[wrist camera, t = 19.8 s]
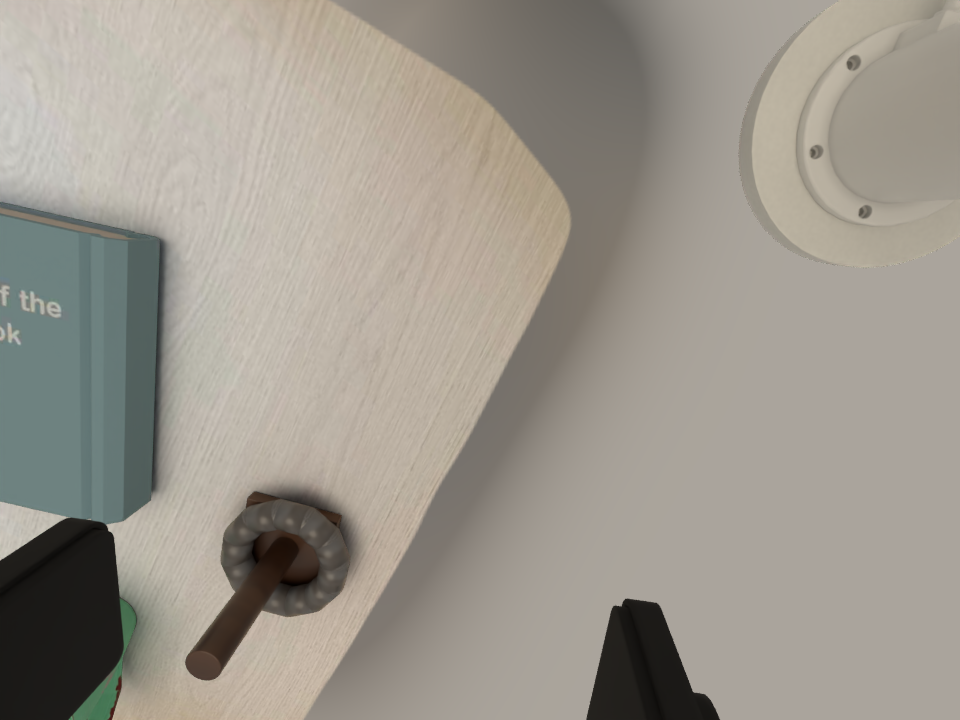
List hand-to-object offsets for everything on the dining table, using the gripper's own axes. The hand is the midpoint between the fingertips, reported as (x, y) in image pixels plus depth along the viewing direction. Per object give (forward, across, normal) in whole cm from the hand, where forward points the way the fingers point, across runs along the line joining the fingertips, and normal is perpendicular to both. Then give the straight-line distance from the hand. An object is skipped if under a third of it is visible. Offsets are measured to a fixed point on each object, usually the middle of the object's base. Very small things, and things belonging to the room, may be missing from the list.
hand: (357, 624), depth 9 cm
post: (+30, +14, +22) cm, 40 cm away
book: (+31, +33, +7) cm, 46 cm away
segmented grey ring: (+28, +14, +22) cm, 38 cm away
